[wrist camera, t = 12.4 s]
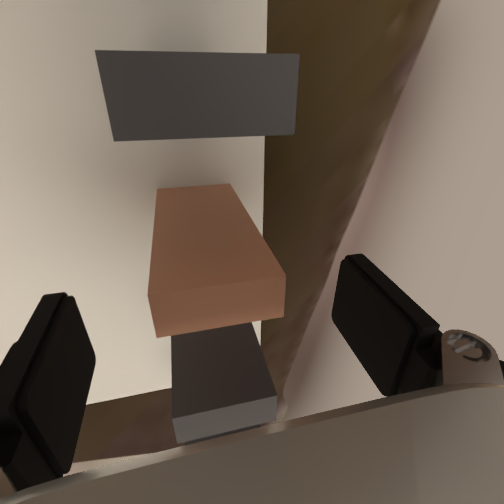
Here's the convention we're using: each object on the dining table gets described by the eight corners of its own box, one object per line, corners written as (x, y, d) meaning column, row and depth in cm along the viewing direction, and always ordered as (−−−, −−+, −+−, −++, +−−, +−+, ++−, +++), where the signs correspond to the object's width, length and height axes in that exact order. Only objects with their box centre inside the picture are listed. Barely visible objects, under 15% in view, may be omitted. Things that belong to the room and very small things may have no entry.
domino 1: (137, 67, 17) (94, 50, 7) (225, 68, 18) (299, 53, 8) (143, 106, 18) (113, 141, 8) (226, 105, 19) (294, 134, 9)
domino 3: (169, 275, 24) (171, 418, 14) (232, 267, 25) (277, 395, 15) (173, 295, 25) (177, 443, 15) (233, 287, 26) (275, 420, 16)
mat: (-606, -385, 9) (-688, -435, 8) (265, -209, 14) (271, -227, 13) (-23, 416, 27) (-29, 427, 27) (257, 362, 33) (259, 369, 32)
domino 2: (156, 189, 21) (147, 295, 10) (230, 183, 22) (286, 275, 11) (161, 216, 22) (156, 338, 11) (231, 210, 23) (283, 316, 12)
